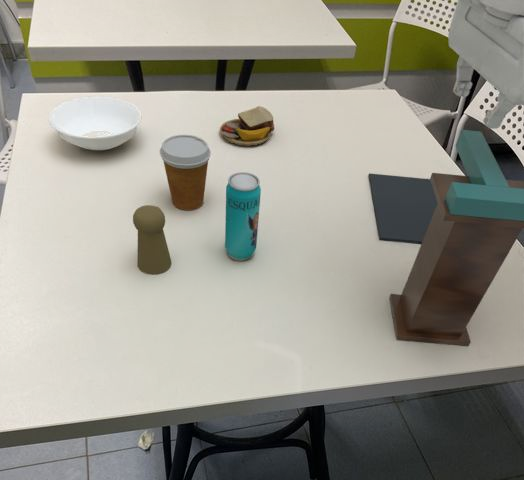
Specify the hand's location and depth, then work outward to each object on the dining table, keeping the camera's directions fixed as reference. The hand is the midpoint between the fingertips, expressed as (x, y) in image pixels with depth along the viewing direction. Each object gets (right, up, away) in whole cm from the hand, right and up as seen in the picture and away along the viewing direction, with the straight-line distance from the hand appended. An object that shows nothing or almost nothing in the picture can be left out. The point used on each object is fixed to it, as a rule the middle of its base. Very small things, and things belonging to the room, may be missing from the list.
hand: (474, 109), depth 67 cm
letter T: (+1, -9, +1) cm, 9 cm away
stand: (-1, -28, +16) cm, 32 cm away
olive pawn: (-48, -18, +21) cm, 55 cm away
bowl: (-66, +15, +46) cm, 82 cm away
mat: (+3, -3, +38) cm, 38 cm away
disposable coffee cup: (-44, -3, +34) cm, 56 cm away
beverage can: (-33, -15, +24) cm, 44 cm away
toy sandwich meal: (-33, +20, +54) cm, 67 cm away
